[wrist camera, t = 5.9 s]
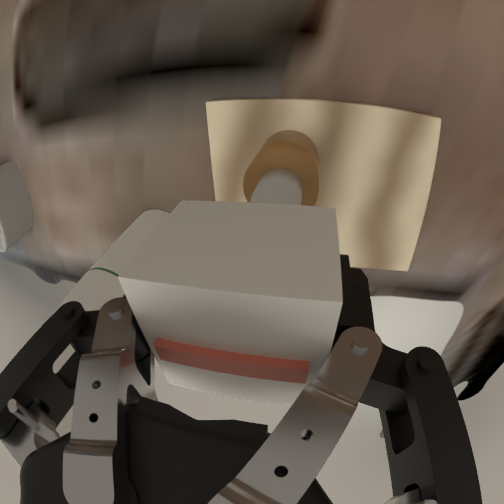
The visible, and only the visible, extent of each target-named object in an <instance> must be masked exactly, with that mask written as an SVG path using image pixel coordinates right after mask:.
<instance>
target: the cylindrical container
mask: <svg viewBox="0 0 504 504" xmlns="http://www.w3.org/2000/svg"><path fill="white" fill-rule="evenodd" d="M169 214H170V213H168V212H165V211H162V210H157V209H152V210H148V211H145V212H144V213H142V214H141V215H140V216H139V217H138V218H137V219H136V220H135V221H134V222H133V223H132V224H131V225H130V226H129V227H128V228H127V229H126V230H125V231H124V232H123V233H122V234H121V236H120V237H119V238H118V239H117V240H116V241H115V242H114V243H113V244H112V245H111V246H110V247H109V248H108V249H107V250H106V251H105V253H104V254H103V255H102V256H101V257H100V258H99V259H98V260H97V261H96V262H95V264H94V265H93V266H92V267H91V268H90V269H89V270H88V271H87V273H86V274H85V275H84V276H83V277H82V278H81V280H80V281H79V282H78V283H77V284H76V286H75V287H74V288H73V289H72V290H71V292H70V293H69V294H68V295H67V297H66V298H65V299H64V300H63V301H62V303H61V304H60V305H59V307H58V308H57V309H56V310H55V312H56V311H57V310H58V309H59V308H60V307H61V306H62V305H63V304H65V303H67V302H70V301H77V302H80V303H81V304H82V306H83V308H84V310H85V311H94V310H100V309H101V307H102V306H103V305H104V304H105V303H106V302H108V301H109V300H111V299H114V298H119V297H123V296H124V294H125V293H124V291H123V288H122V286H121V283H120V281H119V279H118V276H119V274H120V273H121V272H122V271H123V269H124V268H125V267H126V266H127V264H128V263H129V262H130V261H131V259H132V258H133V257H134V256H135V254H136V253H137V252H138V251H139V250H140V248H141V247H142V246H143V245H144V243H145V242H146V241H147V240H148V239H149V238H150V236H151V235H152V234H153V233H154V232H155V230H156V229H157V228H158V227H159V226H160V225H161V223H162V222H163V221H164V220H165V219H166V218H167V217H168V215H169ZM55 312H54V313H55ZM54 313H53V314H54ZM53 314H52V315H53ZM52 315H51V316H52ZM74 352H75V350H74V349H73V347H72V346H71V345H70V344H69V346H68V347H67V348H66V349H65V350H64V351H63V353H62V354H61V355H60V356H59V357H58V358H57V360H56V361H55V362H54V364H53V372H54V373H57V372H58V371H59V370H60V369H61V367H62V366H63V365H64V364H65V363H66V361H67V360H68V359H69V358H70V357H71V355H72V354H73V353H74ZM72 414H73V406H72V407H71V409H70V410H69V411H68V413H67V414H66V415H65V417H64V418H63V419H62V421H61V422H60V424H59V425H58V426H57V428H56V431H57V432H58V433H59V435H60V437H61V436H63V435H65V434H67V433H69V432H71V425H72Z"/></svg>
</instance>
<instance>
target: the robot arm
mask: <svg viewBox="0 0 504 504" xmlns="http://www.w3.org/2000/svg"><path fill="white" fill-rule="evenodd" d="M340 263H341V277H342V295H343V304H342V308H341V312H340V316H339V320H338V324H337V328H336V332H335V336H334V340H333V344H332V347H331V351H330V354H329V356H328V358H327V359H326V361H325V363H324V364H323V366H322V367H321V369H320V371H319V372H318V374H317V375H316V377H315V379H314V380H313V381H312V383H309V384H307V385H306V386H305V388H304V389H303V390H302V392H301V393H300V395H299V396H298V397H297V399H296V400H295V402H294V403H293V405H292V406H291V408H290V409H289V410H288V412H287V413H286V415H285V416H284V417H283V419H282V420H281V421H280V423H279V424H278V425H277V427H276V428H275V429H274V431H273V432H272V433H271V434H270V433H268V425H263V424H256V423H250V422H244V421H238V420H196V419H193V418H192V417H190V416H188V415H186V414H184V413H182V412H181V411H179V410H177V409H175V408H173V407H172V406H170V405H168V404H165V403H162V402H158V399H157V396H156V392H155V373H154V372H155V371H154V354H153V352H152V350H151V348H150V347H149V345H148V343H147V341H146V339H145V337H144V334H143V332H142V330H141V328H140V326H139V324H138V322H137V320H136V318H135V316H134V313H133V311H132V309H131V307H130V304H129V302H128V300H127V298H126V295H125V294H124V296H123V297H119V298H114V299H111V300H109V301H108V302H106V303H105V304H104V305H103V306H102V307H101V309H100V310H94V311H85V310H84V308H83V306H82V304H81V303H80V302H77V301H70V302H67V303H65V304H63V305H62V306H61V307H60V308H59V309H58V310H57V311H56V312H55V313H54V314H53V315H52V316H51V317H50V318H49V319H48V320H47V321H46V322H45V323H44V324H43V325H42V327H41V328H40V329H39V330H38V331H37V332H36V333H35V334H34V335H33V336H32V338H30V340H29V341H28V342H27V343H26V344H25V345H24V347H23V348H22V349H21V350H20V351H19V352H18V353H17V355H16V356H15V357H14V358H13V359H12V361H11V362H10V363H9V364H8V365H7V366H6V368H5V369H4V370H3V371H2V372H1V374H0V440H1V441H2V442H3V443H4V445H5V446H6V448H7V449H8V450H9V452H10V453H11V454H12V455H13V457H14V458H15V459H16V461H17V462H18V463H19V464H20V465H21V471H20V472H21V473H20V486H21V500H20V501H21V502H20V504H333V503H332V502H331V500H330V499H329V497H328V496H327V495H326V493H325V492H324V490H323V489H322V487H321V486H320V484H319V483H318V481H317V480H316V478H315V477H316V476H317V474H318V473H319V471H320V470H321V468H322V467H323V465H324V464H325V462H326V461H327V459H328V457H329V456H330V454H331V452H332V451H333V449H334V448H335V446H336V444H337V442H338V441H339V439H340V437H341V436H342V434H343V432H344V430H345V429H346V427H347V425H348V423H349V421H350V419H351V417H352V416H353V414H354V412H355V410H356V407H357V404H358V402H360V403H363V404H366V405H369V406H372V407H375V408H378V409H379V412H380V417H381V422H382V427H383V432H384V438H385V443H386V449H387V455H388V461H389V468H390V474H391V482H392V489H393V497H392V498H390V499H389V500H388V501H386V503H384V504H482V499H481V491H480V485H479V480H478V475H477V469H476V465H475V460H474V456H473V452H472V448H471V444H470V440H469V436H468V432H467V429H466V425H465V422H464V419H463V416H462V412H461V409H460V406H459V403H458V400H457V397H456V394H455V391H454V388H453V385H452V383H451V380H450V377H449V375H448V372H447V369H446V367H445V364H444V362H443V360H442V358H441V356H440V355H439V354H438V353H437V352H436V351H435V350H433V349H431V348H428V347H416V348H414V349H412V350H411V351H410V352H409V353H408V354H407V353H404V352H401V351H398V350H395V349H392V348H390V347H388V346H386V345H385V344H383V343H382V341H381V339H380V338H379V336H378V335H377V334H376V333H375V329H374V320H373V312H372V305H371V299H370V291H369V285H368V279H367V277H366V275H365V274H364V273H363V271H362V270H361V269H356V268H350V261H349V255H344V254H340ZM69 344H70V345H71V346H72V347H73V349H74V350H75V352H74V353H73V354H72V355H71V357H70V358H69V359H68V360H67V361H66V363H65V364H64V365H63V366H62V367H61V369H60V370H59V371H58V372H57V373H54V372H53V364H54V362H55V361H56V360H57V358H58V357H59V356H60V355H61V354H62V353H63V351H64V350H65V349H66V348H67V347H68V346H69ZM72 406H73V414H72V425H71V432H69V433H67V434H65V435H63V436H61V437H60V435H59V433H58V432H57V431H56V428H57V426H58V425H59V424H60V422H61V421H62V419H63V418H64V417H65V415H66V414H67V413H68V411H69V410H70V409H71V407H72Z"/></svg>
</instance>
